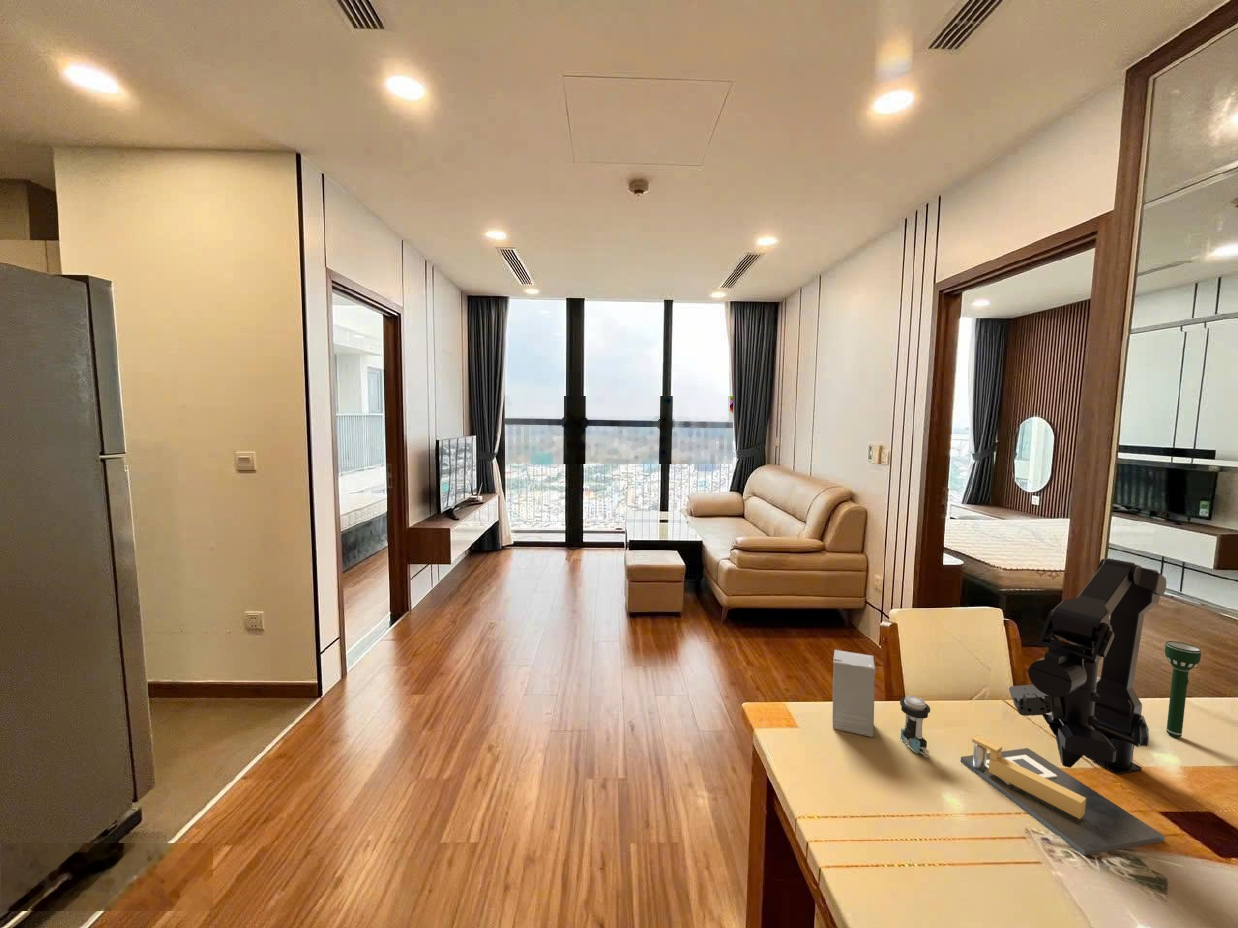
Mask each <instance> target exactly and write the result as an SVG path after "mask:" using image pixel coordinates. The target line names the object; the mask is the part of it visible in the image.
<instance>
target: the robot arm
mask: <svg viewBox="0 0 1238 928" xmlns="http://www.w3.org/2000/svg"><path fill="white" fill-rule="evenodd" d="M1166 589H1167V578H1166V577H1165V576H1164V575H1162V574H1161V573H1160V572H1159V571H1158V570H1157V569H1151V568H1146V567H1142V565H1139V564H1136V563H1135V562H1131V561H1127V560H1120V559H1115V558H1102V559H1101V560H1099V564H1098V569H1097V570H1096V572H1095V574H1094V575H1093V576H1092V577H1091V579H1090V580H1089V582H1087V583H1086V585H1085V586H1084V587H1083V589H1082V591H1081V592H1080V593H1079V594H1078V596H1076V597H1074V598H1069V599H1064V600H1062V601H1061V602H1060V603H1059V604H1057V606H1055V607H1054V608H1053V609H1050V611H1049V612H1048V615H1047V617H1046V620H1045V622H1044V625H1043V628H1042V631H1041V633H1040V636H1039V638H1038V641H1037V645H1039V646H1041V647H1045V648H1048V651H1046V652H1044V656H1043V657H1041V658H1040V659H1037V660H1035V661H1033V662H1032V663H1031V664H1030V665H1029V668H1027V669H1028V671H1027V674H1028V675H1027V676H1028V677H1029V680H1030V682H1031V684H1025V685H1024V684H1022V685H1012V686H1009V687H1008V690H1009V694H1010V697H1011V699H1012V702H1013V705H1014V707H1015V708H1016V711H1017V713H1018V714H1019V715H1020V716H1024V717H1025V716H1026V717H1029V716H1033V717H1034V716H1042V717H1043V718H1044V720H1045V722H1046V723H1047V724H1048V727H1049V729H1050V730H1051V732H1052V733H1053V735H1054V736H1055V739H1056V740H1055V741H1056V744H1057V749H1058V754H1059V758H1060V762H1061V765H1062V766H1063V767H1065V768H1068V769H1069V768H1070V769H1071V768H1072V767H1074V765H1075V764H1076V763H1077V762H1078V761H1079V760H1080V759H1081V758H1083V756H1084V757H1087V758H1088V759H1090V760H1091V761H1094V762H1095V763H1097V764H1099V765H1101V766H1102V767H1104V768H1106V769H1107V770H1109V771H1111V772H1112V773H1114V774H1118V775H1119V774H1126V773H1127V774H1128V773H1132V772H1138V771H1140V772H1141V771H1142V769H1143V768H1142V766H1141V765H1138V764H1137V763H1135V762H1133V759H1134V749H1135V747H1137V748H1140V747H1141V746H1143V747H1148V746H1149V742H1150V734H1149V729H1150V728H1149V727H1148V724H1147V721H1146V719H1145V716H1144V715H1142V712H1143V710H1142V709H1143V704H1142V702H1141V700H1140V698H1139V697H1138V695H1137V693H1136V691H1135V689H1134V682H1135V675H1136V667H1137V661H1138V657H1139V651H1140V643H1141V639H1142V631H1143V625H1144V620H1145V614H1146V613H1148V612H1149V611H1151V609H1153V608H1154V607H1155V606H1158V604H1159V603H1160V599H1161V597H1162V596H1164V595H1165V592H1166ZM1052 635H1053V636H1054V637H1055V638H1053V637H1052ZM1060 639H1061V640H1060ZM1063 640H1064V641H1063ZM1102 658H1103V660H1102ZM1101 660H1102V664H1101V665H1102V666H1101V670H1100V671H1101V673H1100V676H1099V675H1098V672H1099V662H1100V661H1101ZM1098 676H1099V678H1100V680H1099V681H1098V682H1097V677H1098Z"/></svg>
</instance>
